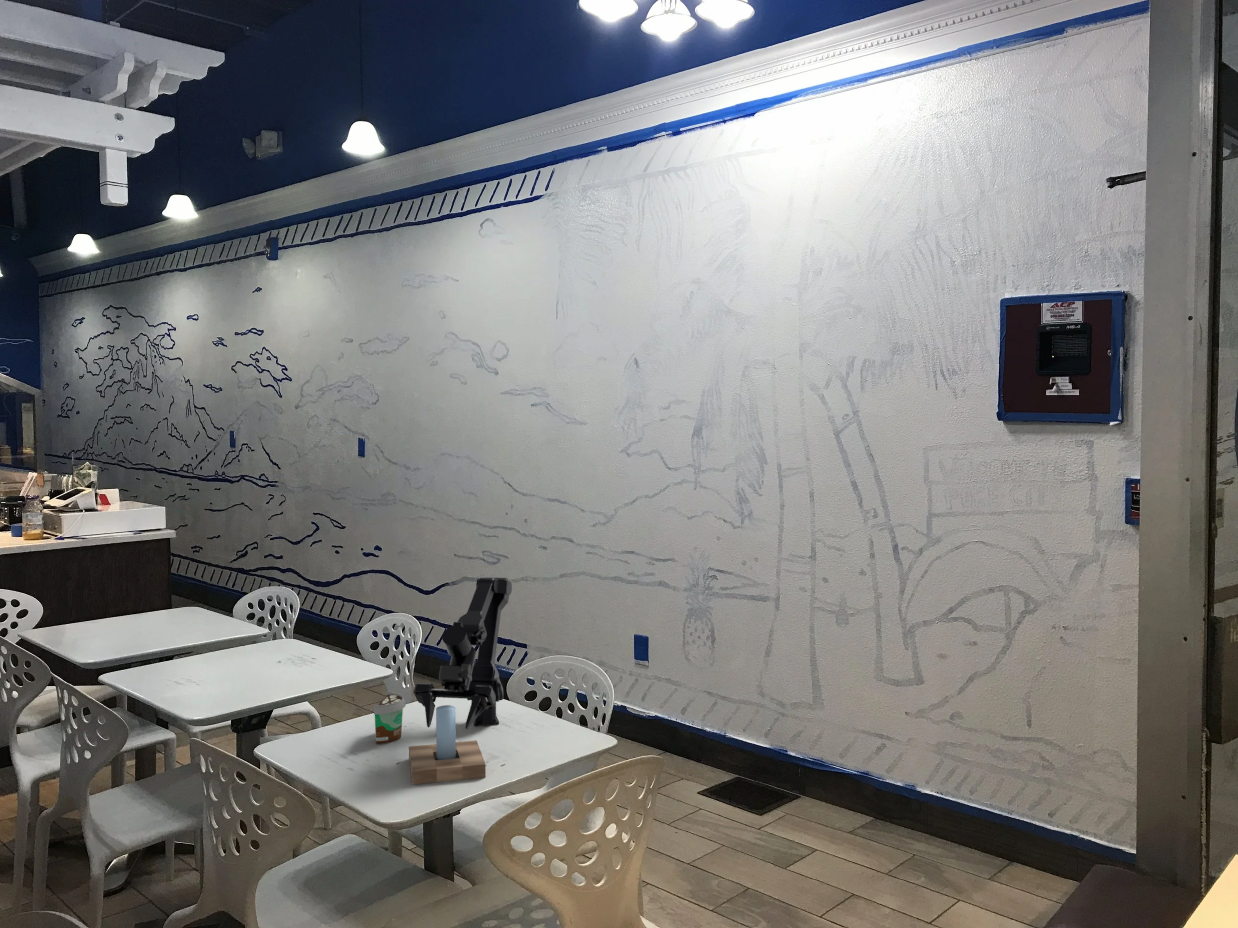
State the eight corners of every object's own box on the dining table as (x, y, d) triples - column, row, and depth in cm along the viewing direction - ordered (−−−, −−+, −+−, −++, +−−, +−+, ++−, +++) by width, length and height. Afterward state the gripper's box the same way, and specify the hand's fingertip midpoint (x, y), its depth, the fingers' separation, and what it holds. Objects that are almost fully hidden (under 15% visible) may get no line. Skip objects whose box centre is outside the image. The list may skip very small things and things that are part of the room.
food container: (399, 746, 236) (398, 706, 236) (374, 746, 236) (373, 705, 236) (411, 729, 249) (410, 691, 248) (387, 729, 249) (386, 691, 248)
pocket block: (408, 758, 228) (408, 746, 228) (476, 752, 232) (476, 740, 232) (413, 784, 212) (412, 770, 212) (485, 776, 217) (485, 763, 217)
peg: (435, 765, 224) (435, 705, 223) (454, 763, 225) (454, 704, 224) (437, 772, 220) (436, 711, 219) (456, 770, 221) (456, 710, 220)
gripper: (415, 648, 228) (399, 708, 218) (492, 651, 226) (479, 712, 216) (426, 672, 237) (411, 731, 226) (500, 675, 234) (489, 735, 224)
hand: (447, 727), depth 223 cm, fingers open, 9 cm apart
